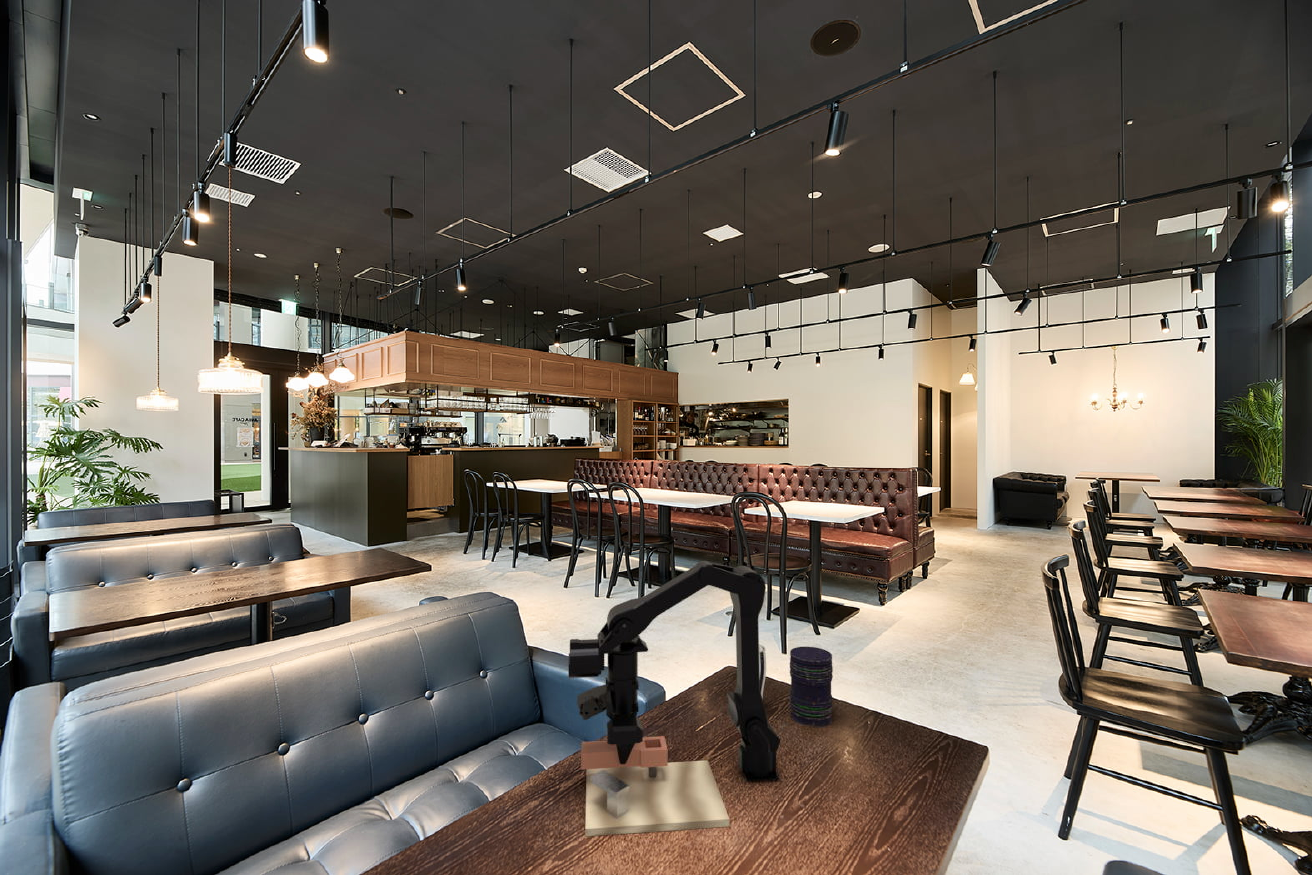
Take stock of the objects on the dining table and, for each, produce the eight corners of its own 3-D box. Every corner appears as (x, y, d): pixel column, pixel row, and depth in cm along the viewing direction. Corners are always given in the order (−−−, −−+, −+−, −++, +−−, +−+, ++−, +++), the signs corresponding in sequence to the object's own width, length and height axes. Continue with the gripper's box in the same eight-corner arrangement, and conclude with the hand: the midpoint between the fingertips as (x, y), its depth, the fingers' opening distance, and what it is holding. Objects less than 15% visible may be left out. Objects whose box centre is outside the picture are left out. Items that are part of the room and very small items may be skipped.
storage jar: (782, 709, 138) (782, 647, 138) (818, 705, 140) (818, 644, 140) (802, 729, 128) (802, 662, 128) (841, 724, 130) (841, 659, 131)
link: (664, 751, 111) (664, 735, 111) (667, 765, 106) (667, 749, 106) (581, 756, 109) (581, 740, 109) (581, 770, 104) (581, 754, 104)
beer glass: (766, 717, 133) (766, 653, 134) (736, 714, 135) (736, 651, 135) (766, 704, 140) (766, 643, 140) (737, 702, 142) (738, 641, 142)
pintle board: (707, 766, 113) (707, 743, 113) (729, 826, 95) (729, 799, 95) (586, 773, 110) (586, 750, 110) (585, 836, 92) (585, 808, 92)
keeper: (603, 794, 102) (603, 769, 102) (629, 811, 97) (629, 785, 97) (590, 801, 100) (590, 776, 100) (616, 819, 95) (616, 792, 95)
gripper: (580, 657, 116) (580, 734, 116) (578, 697, 97) (578, 789, 97) (635, 655, 117) (635, 731, 117) (643, 694, 98) (642, 785, 98)
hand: (622, 757), depth 107 cm, fingers closed on link, 4 cm apart
